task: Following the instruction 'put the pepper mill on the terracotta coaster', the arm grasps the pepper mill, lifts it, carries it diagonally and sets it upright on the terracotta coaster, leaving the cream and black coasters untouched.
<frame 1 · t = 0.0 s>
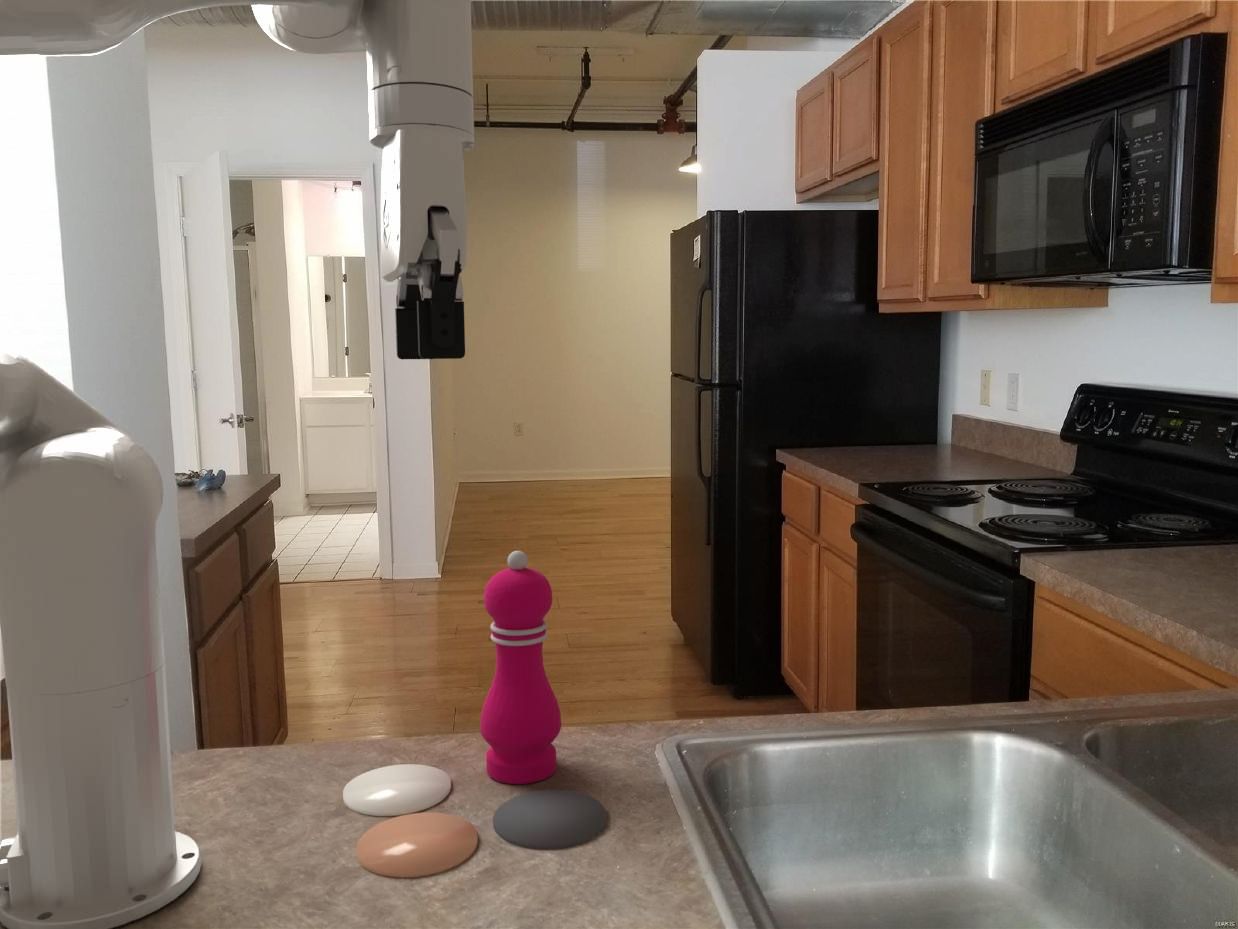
hand: (429, 358, 72), 37 cm above the countertop, tool pointing down, fingers open, 9 cm apart
black coaster: (549, 824, 77), on the countertop
pepper mill: (521, 772, 86), on the countertop
terracotta coaster: (417, 850, 73), on the countertop
cream coaster: (397, 795, 82), on the countertop
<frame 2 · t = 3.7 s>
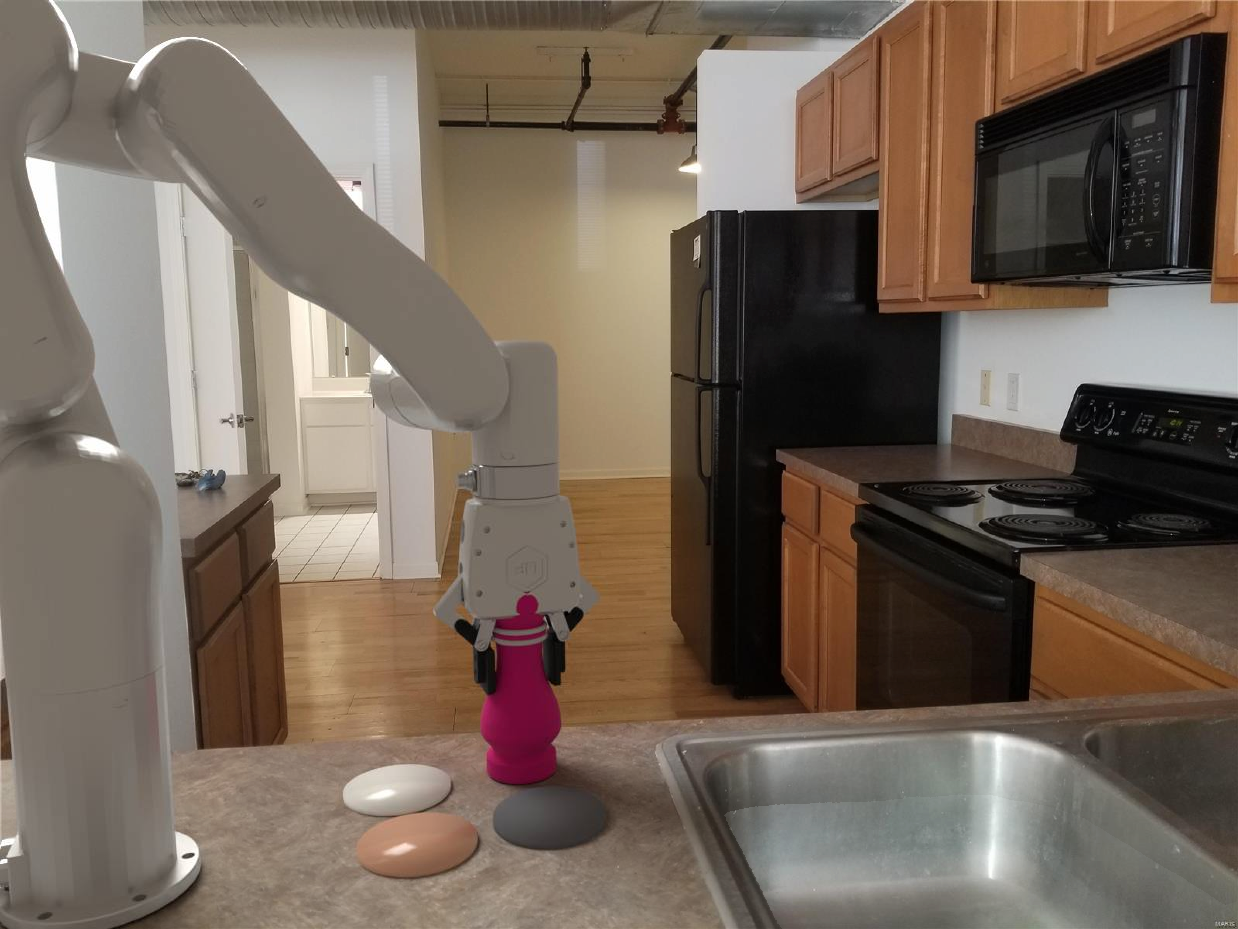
hand: (520, 683, 85), 8 cm above the countertop, tool pointing down, fingers closed on pepper mill, 5 cm apart
pepper mill: (521, 772, 86), on the countertop, touching gripper
everything else where it was.
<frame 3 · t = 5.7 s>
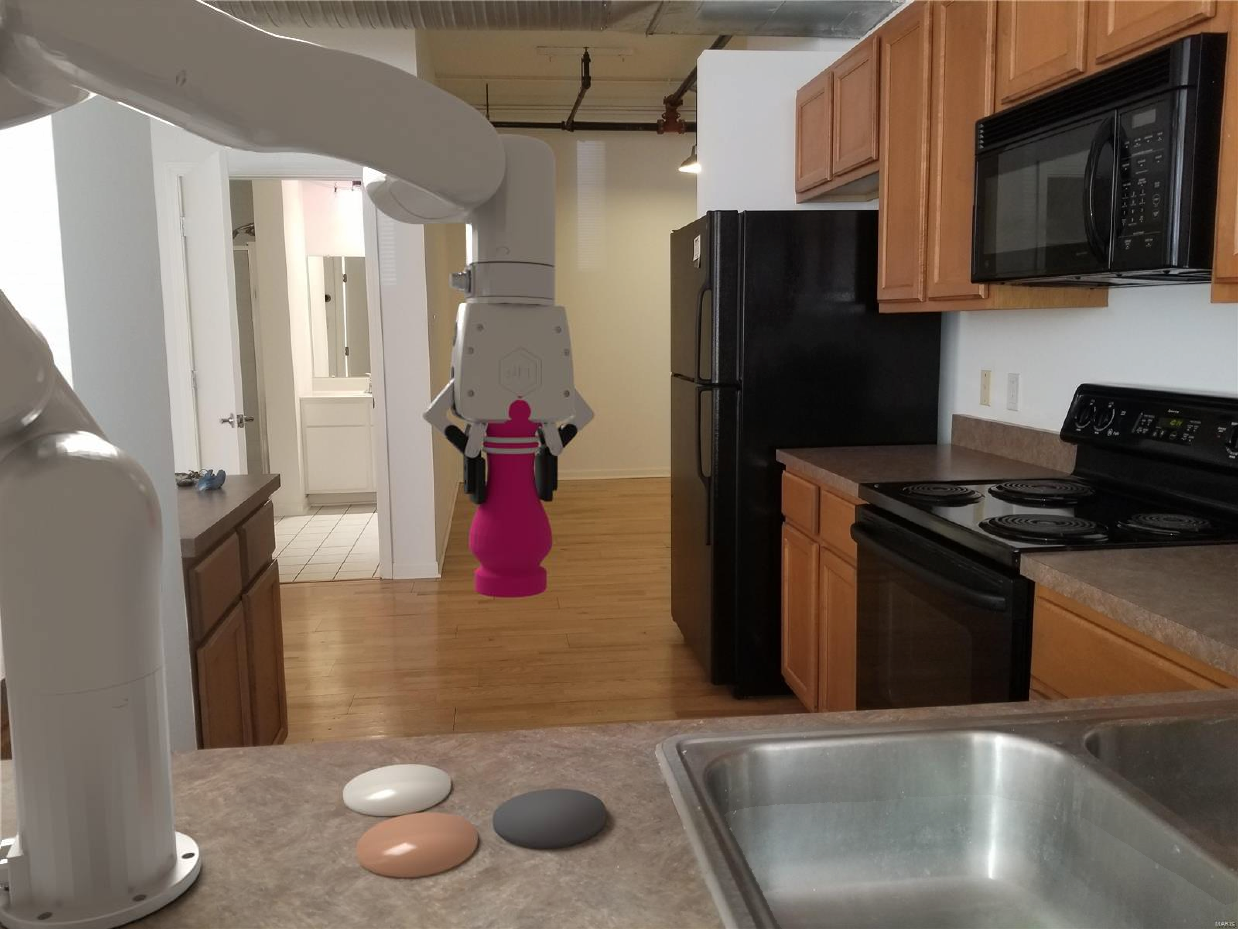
hand: (510, 499, 83), 25 cm above the countertop, tool pointing down, fingers closed on pepper mill, 5 cm apart
pepper mill: (510, 592, 84), point 16 cm above the countertop, touching gripper
everything else where it was.
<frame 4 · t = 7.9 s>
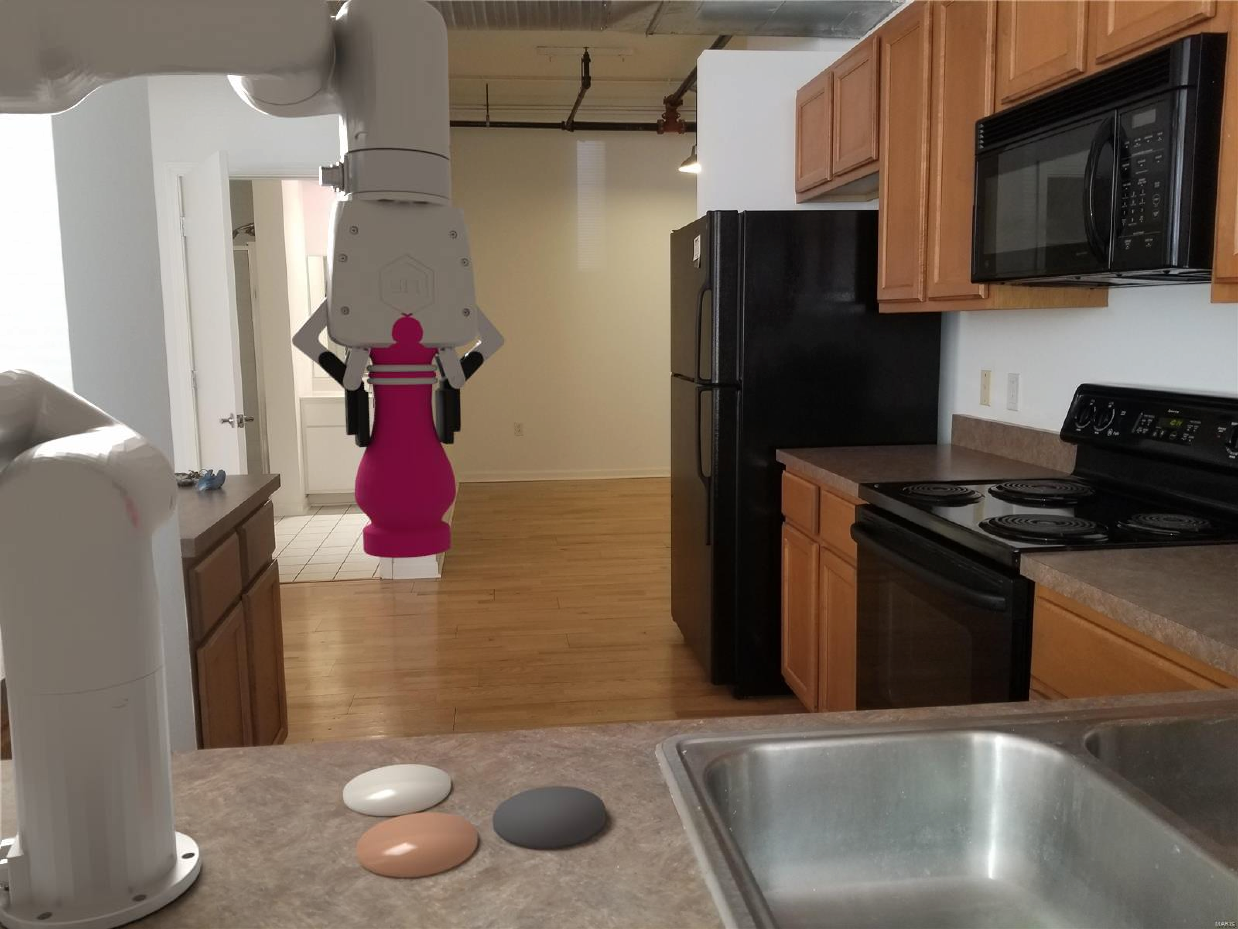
hand: (404, 441, 69), 31 cm above the countertop, tool pointing down, fingers closed on pepper mill, 5 cm apart
pepper mill: (407, 552, 70), point 23 cm above the countertop, touching gripper
everything else where it was.
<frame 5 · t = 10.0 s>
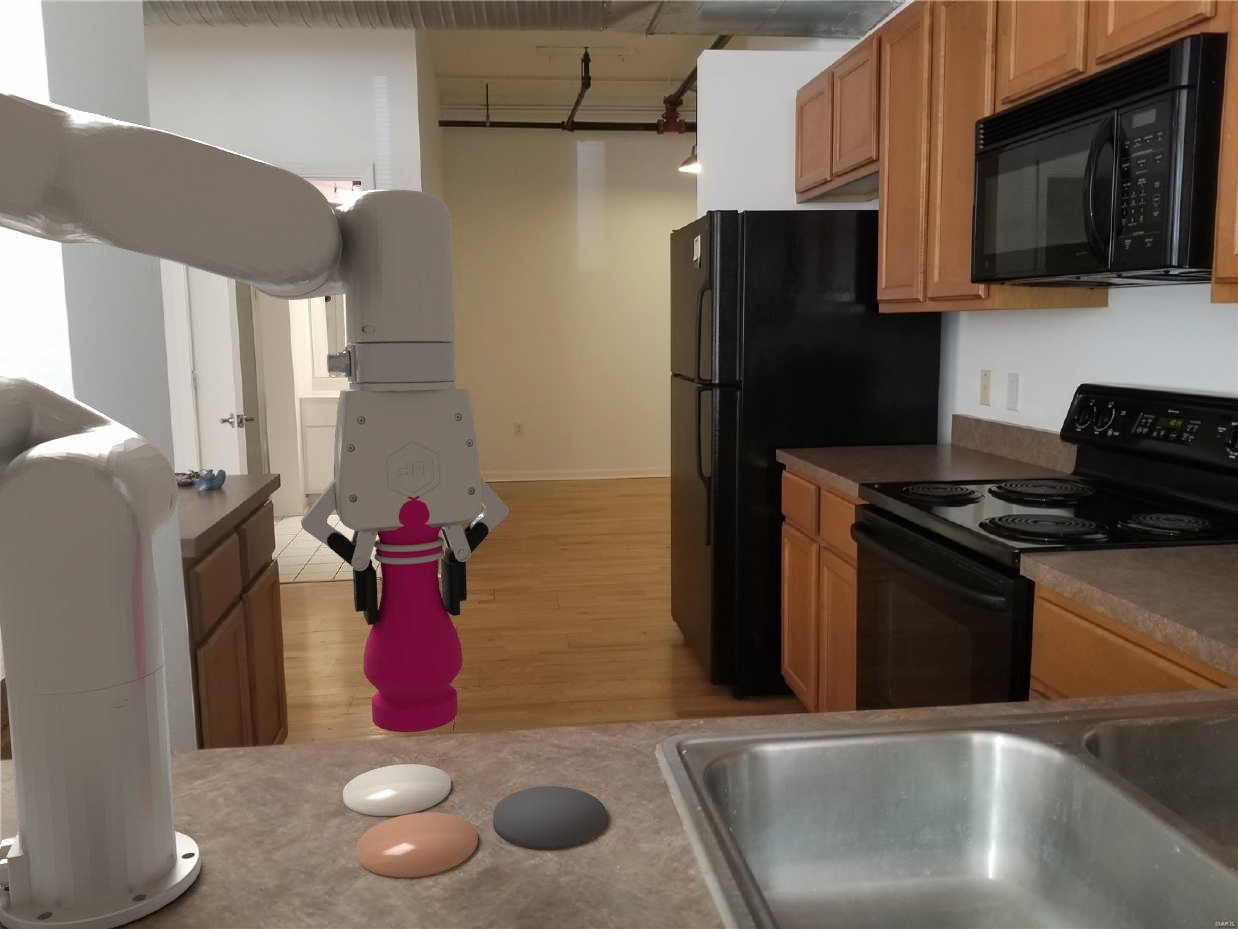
hand: (411, 613, 71), 18 cm above the countertop, tool pointing down, fingers closed on pepper mill, 5 cm apart
pepper mill: (415, 719, 72), point 10 cm above the countertop, touching gripper
everything else where it was.
when the fingers open (10 cm above the countertop, at t = 12.0 s): pepper mill drops 2 cm, resting on terracotta coaster.
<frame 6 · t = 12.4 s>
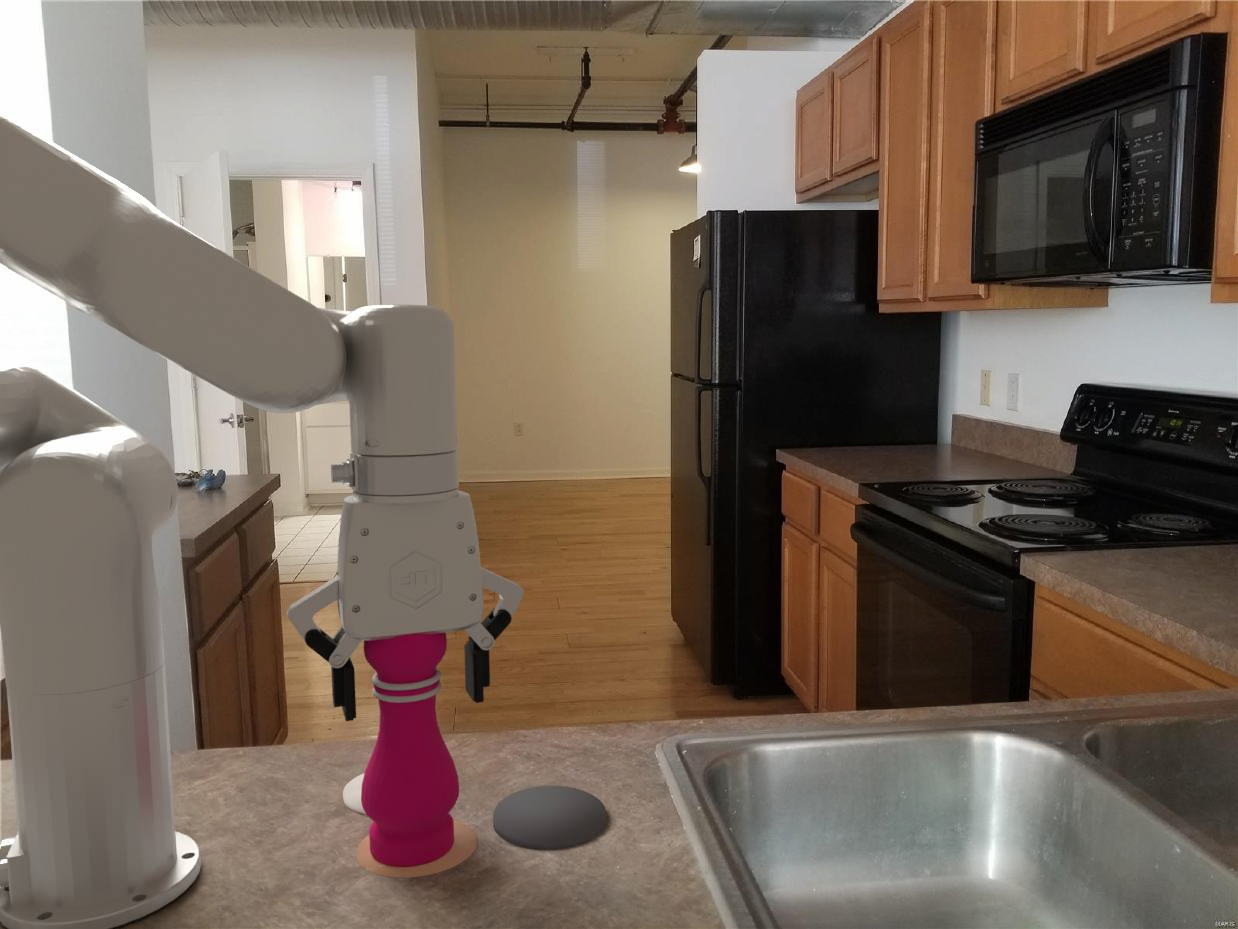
hand: (413, 705, 72), 11 cm above the countertop, tool pointing down, fingers open, 9 cm apart
pepper mill: (412, 848, 73), resting on terracotta coaster
terracotta coaster: (418, 855, 73), on the countertop, touching pepper mill
everything else where it was.
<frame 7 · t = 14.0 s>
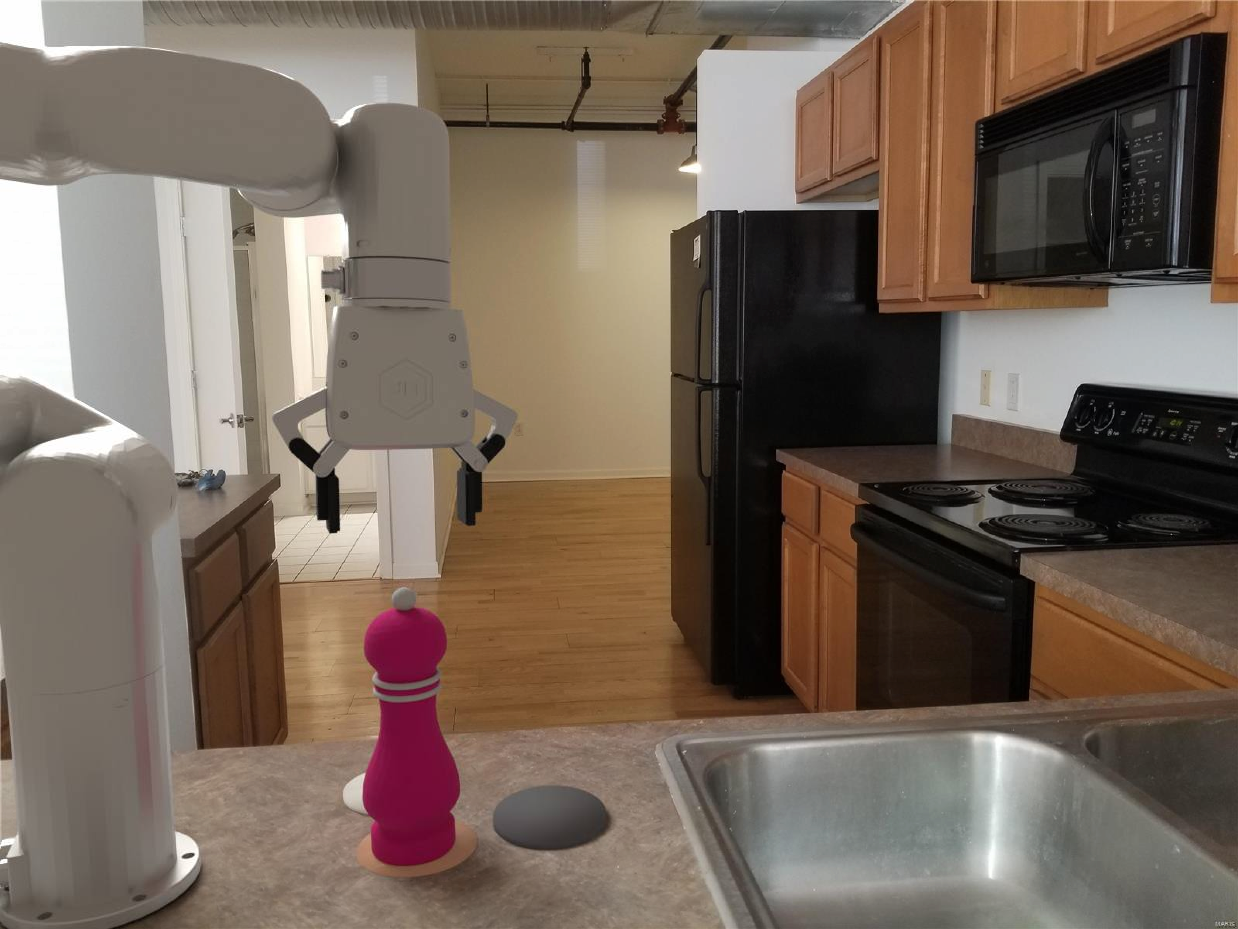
hand: (401, 526, 70), 25 cm above the countertop, tool pointing down, fingers open, 9 cm apart
nothing on the countertop moved.
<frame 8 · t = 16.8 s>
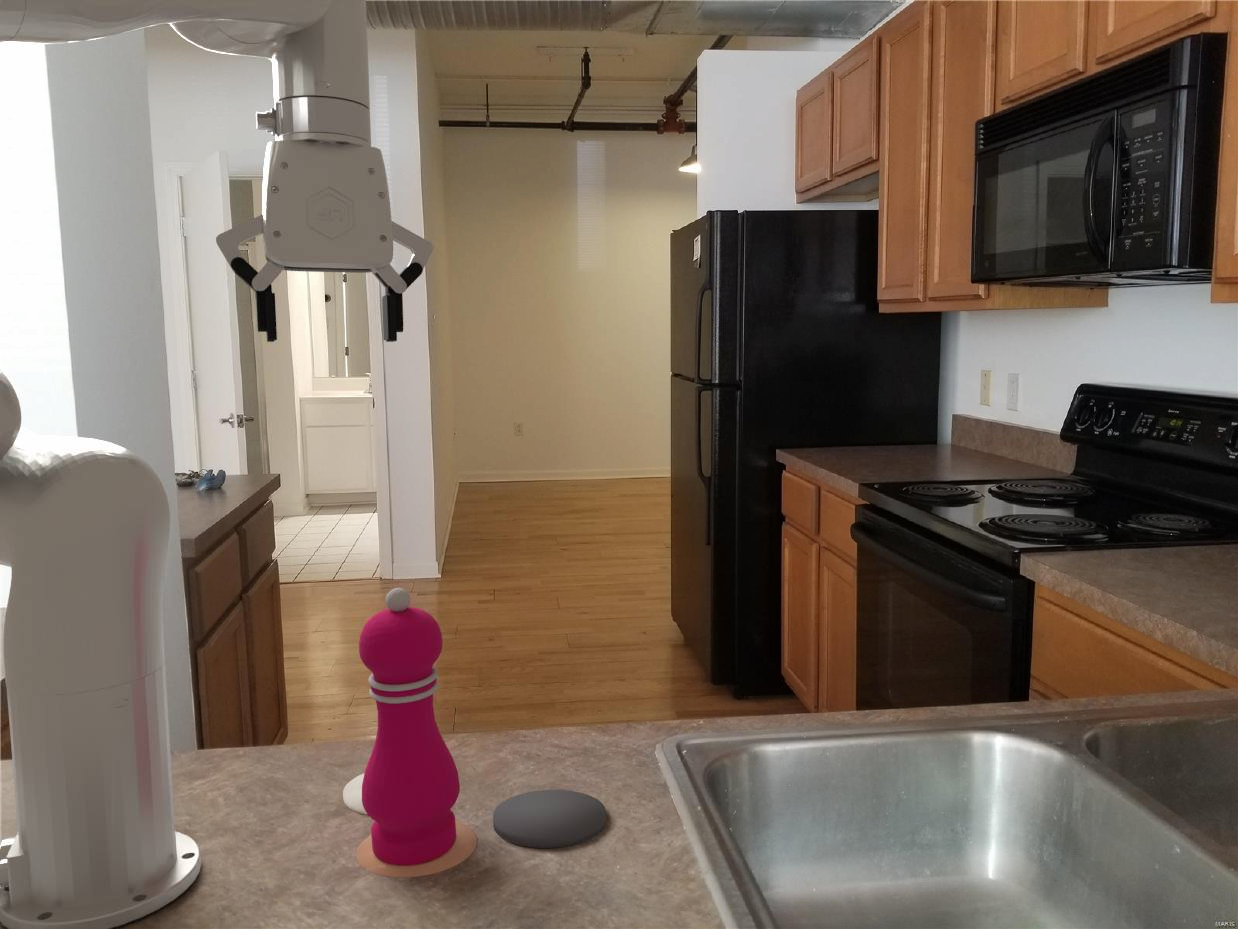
hand: (332, 341, 81), 38 cm above the countertop, tool pointing down, fingers open, 9 cm apart
nothing on the countertop moved.
at the end: pepper mill 0.2 cm off-centre on the terracotta coaster, point 0.8 cm above the terracotta coaster's base; pepper mill tilted 4°; cream coaster moved 0.4 cm from its start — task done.
